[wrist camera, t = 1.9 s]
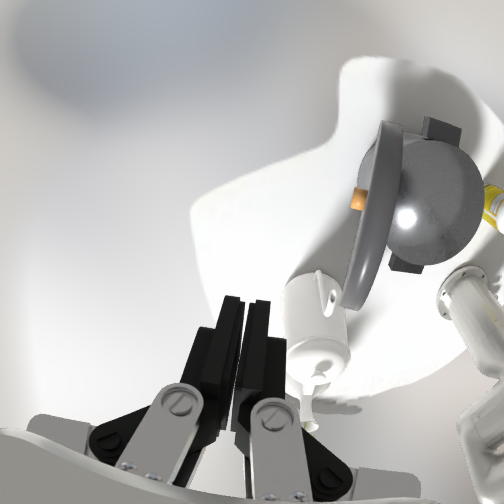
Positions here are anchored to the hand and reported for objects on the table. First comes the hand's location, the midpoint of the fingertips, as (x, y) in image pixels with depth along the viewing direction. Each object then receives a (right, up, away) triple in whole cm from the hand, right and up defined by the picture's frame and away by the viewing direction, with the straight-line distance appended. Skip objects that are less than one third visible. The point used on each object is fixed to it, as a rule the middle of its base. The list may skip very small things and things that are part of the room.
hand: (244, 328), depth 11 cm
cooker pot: (+24, +13, +29) cm, 40 cm away
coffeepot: (+11, -4, +41) cm, 42 cm away
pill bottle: (+41, +12, +28) cm, 51 cm away
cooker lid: (+11, +6, +13) cm, 18 cm away
